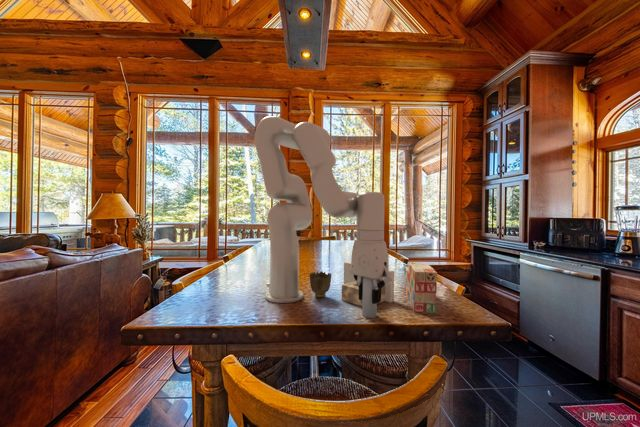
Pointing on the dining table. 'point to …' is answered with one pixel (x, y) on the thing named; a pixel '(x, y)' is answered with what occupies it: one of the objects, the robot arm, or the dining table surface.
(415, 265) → the stack of blocks
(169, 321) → the dining table surface
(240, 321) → the dining table surface
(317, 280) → the cup
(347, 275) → the backstop wall
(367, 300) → the dowel
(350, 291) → the socket block
